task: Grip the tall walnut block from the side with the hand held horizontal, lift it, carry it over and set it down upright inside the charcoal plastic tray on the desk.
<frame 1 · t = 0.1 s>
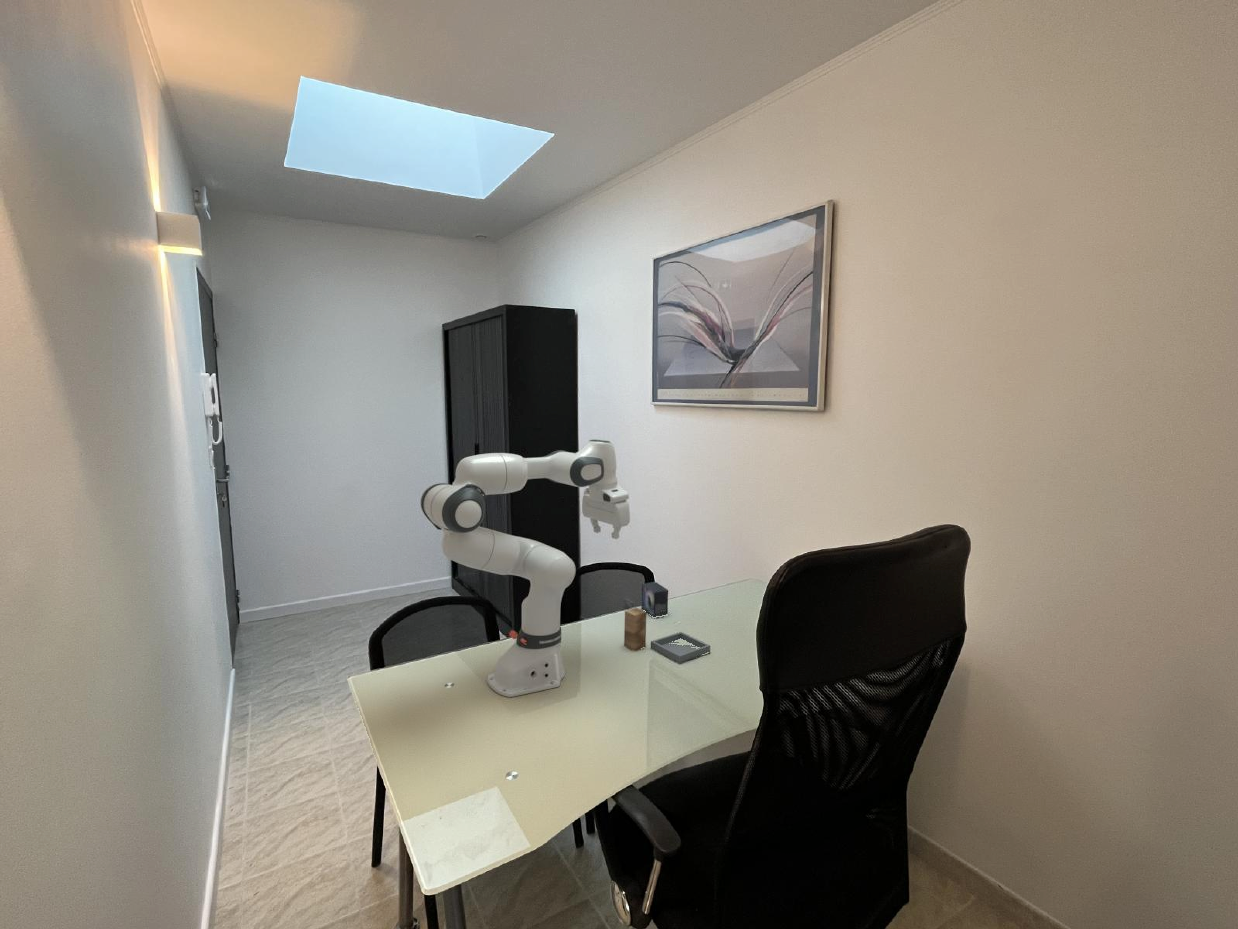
hand: (606, 535, 185), 39 cm above the table, tool pointing down, fingers open, 8 cm apart
small box: (653, 613, 226), on the table
tray: (680, 650, 193), on the table
walnut block: (634, 646, 196), on the table
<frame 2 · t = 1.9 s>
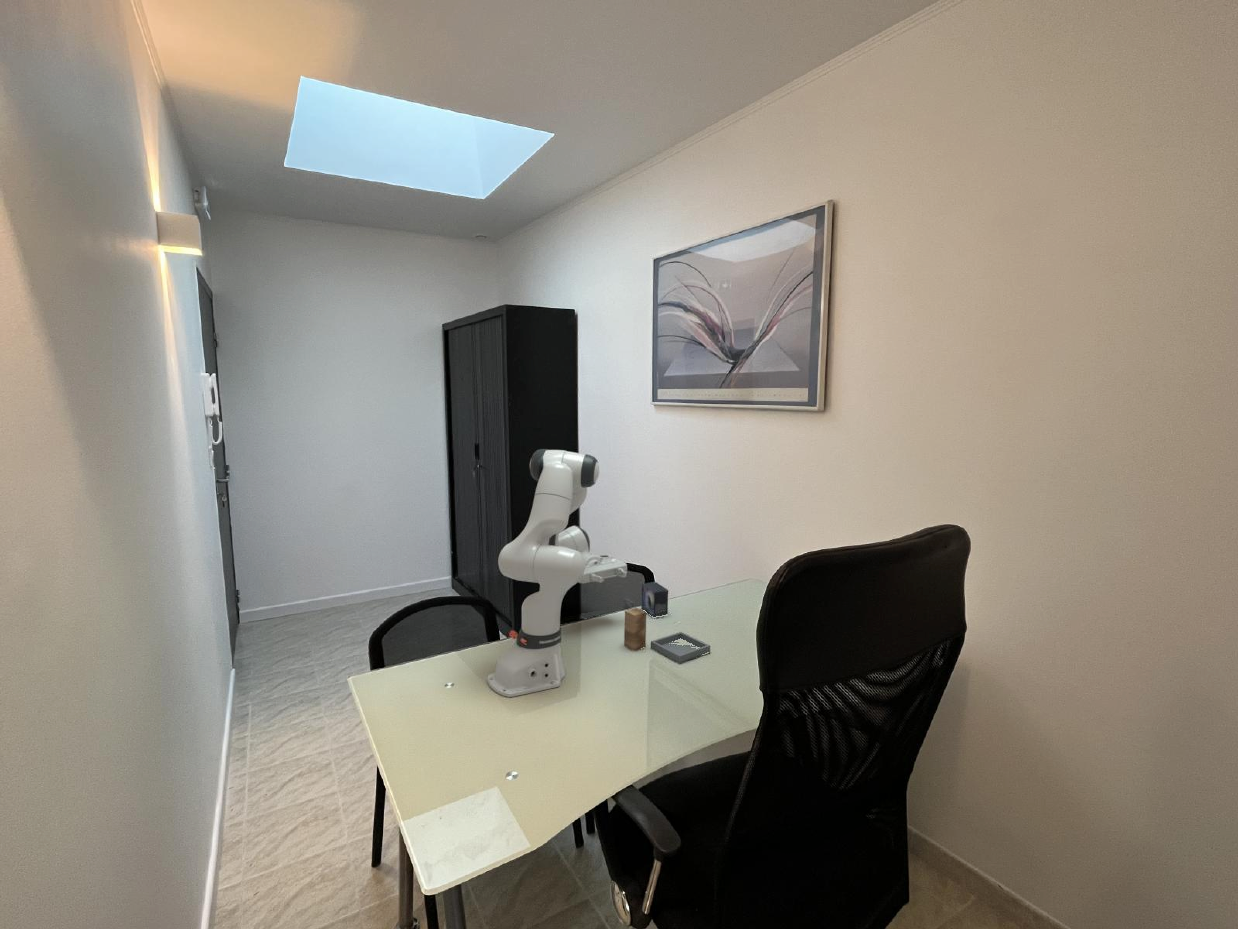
hand: (613, 577, 203), 20 cm above the table, tool horizontal, fingers open, 8 cm apart
nothing on the table moved.
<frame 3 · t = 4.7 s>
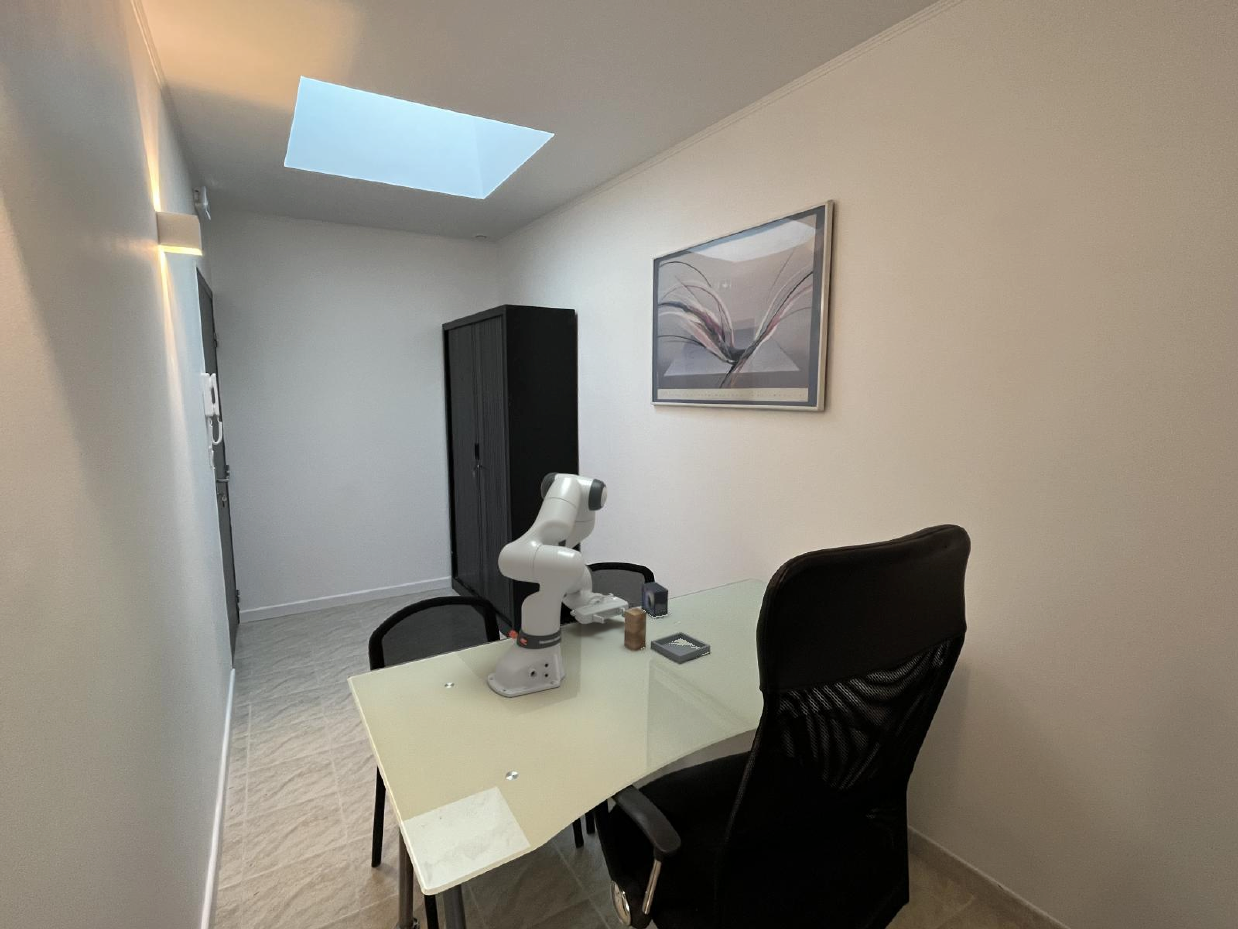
hand: (615, 618, 203), 6 cm above the table, tool horizontal, fingers open, 8 cm apart
nothing on the table moved.
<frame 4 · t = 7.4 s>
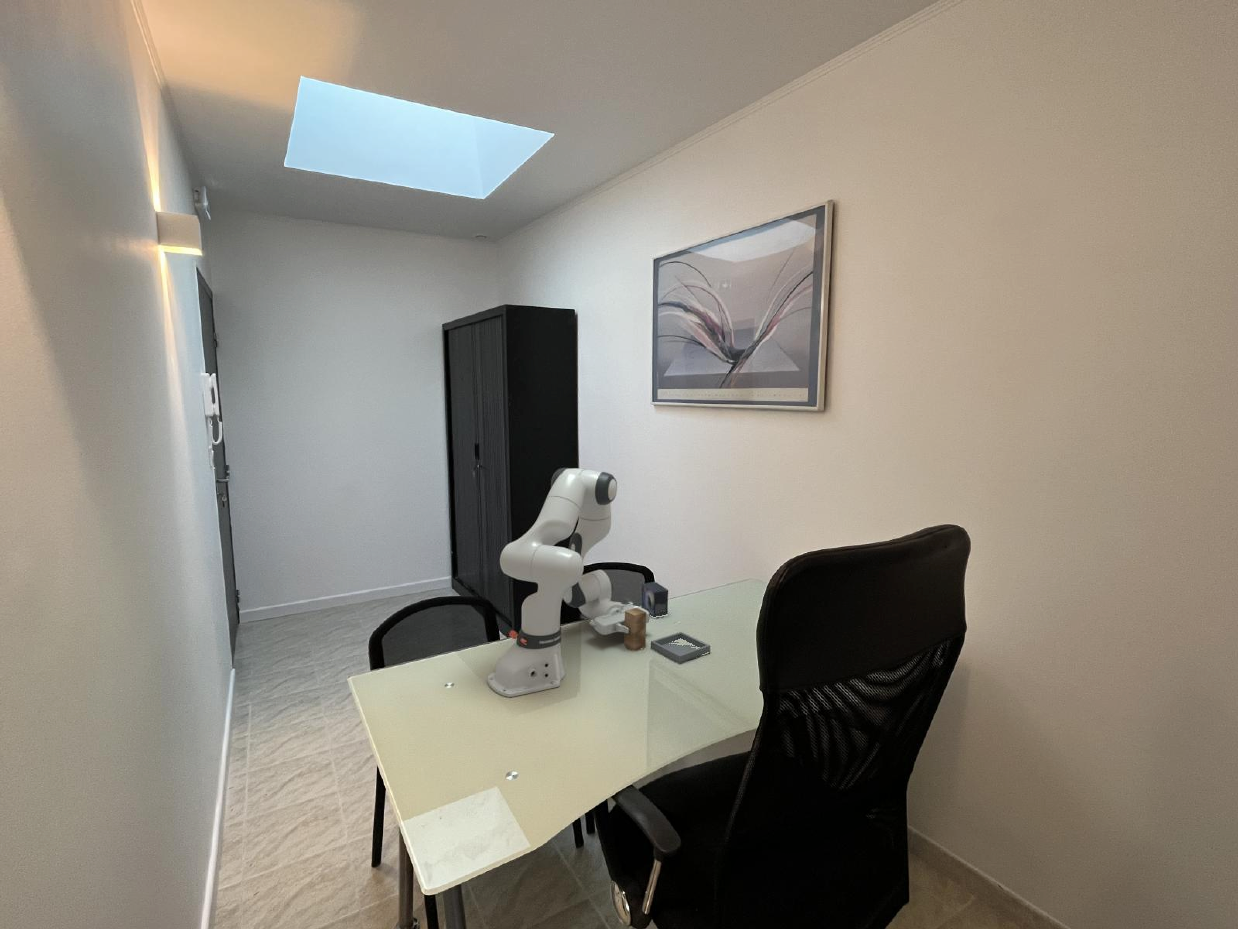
hand: (636, 628, 194), 7 cm above the table, tool horizontal, fingers closed on walnut block, 5 cm apart
walnut block: (634, 646, 196), on the table, touching gripper
everything else where it was.
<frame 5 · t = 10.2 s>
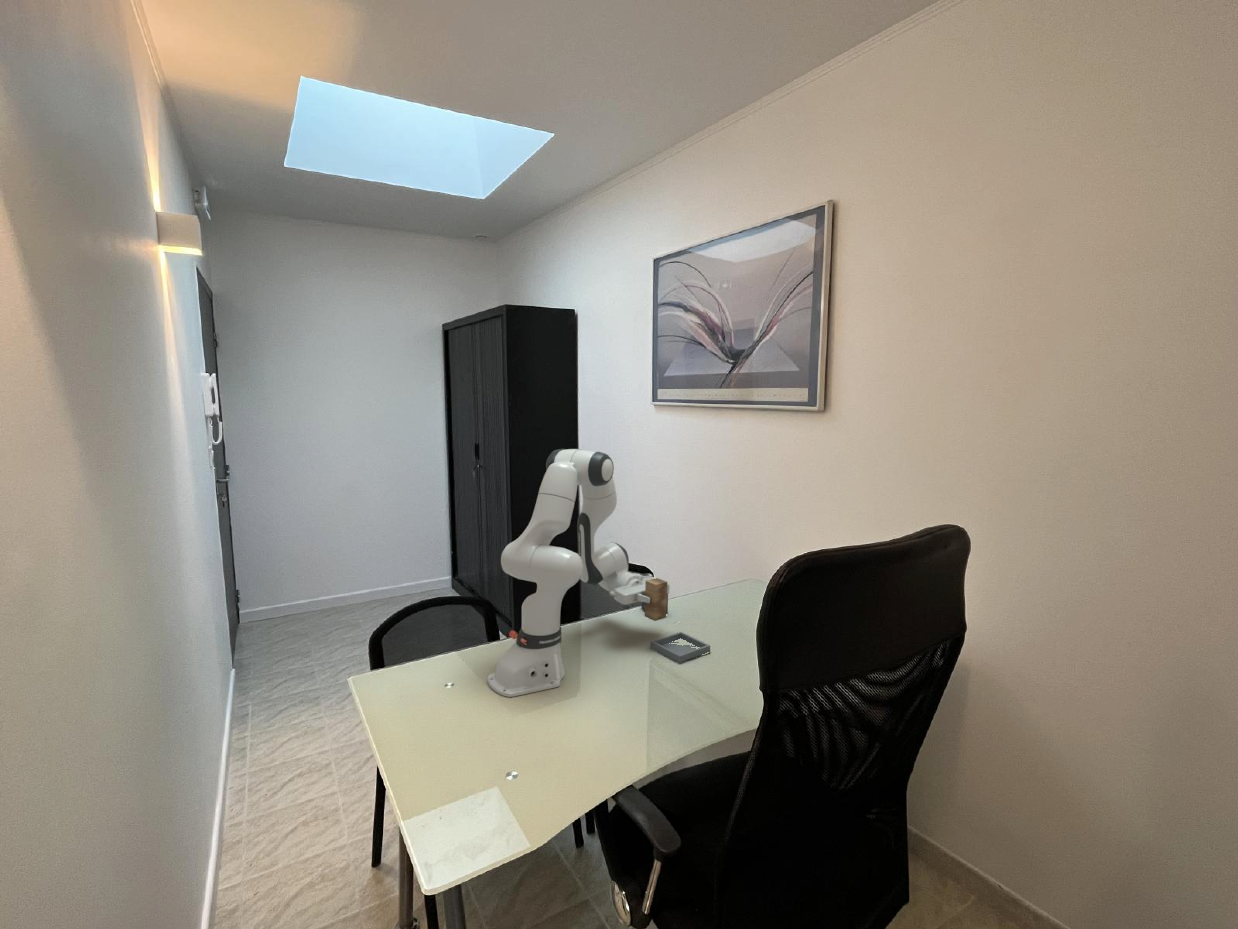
hand: (658, 598, 192), 17 cm above the table, tool horizontal, fingers closed on walnut block, 5 cm apart
walnut block: (655, 617, 194), point 11 cm above the table, touching gripper
everything else where it was.
when the fingers open (8 cm above the table, at t = 12.9 s): walnut block drops 1 cm, resting on tray.
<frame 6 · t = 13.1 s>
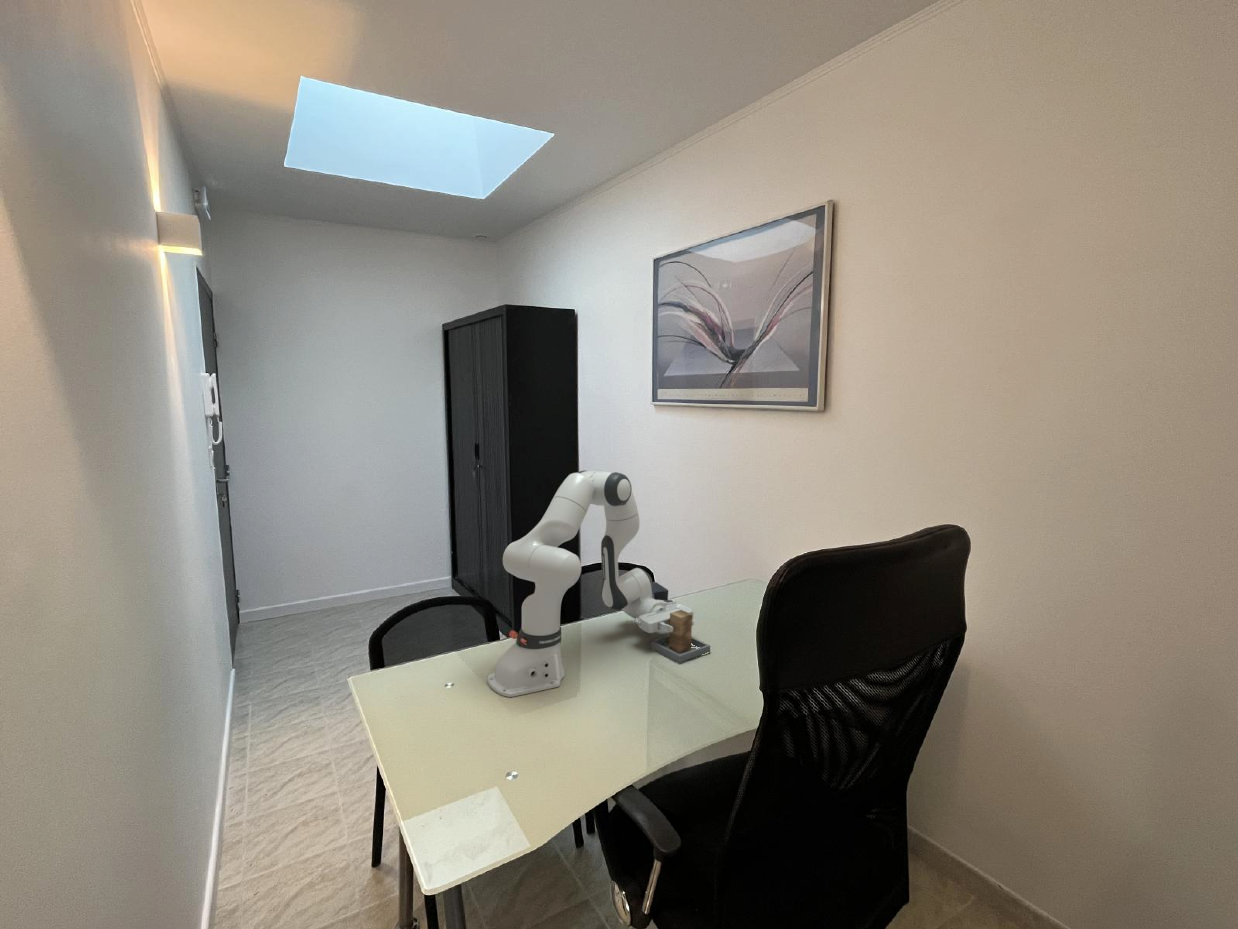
hand: (682, 626, 192), 8 cm above the table, tool horizontal, fingers open, 7 cm apart
walnut block: (679, 649, 193), point 1 cm above the table, touching tray
everything else where it was.
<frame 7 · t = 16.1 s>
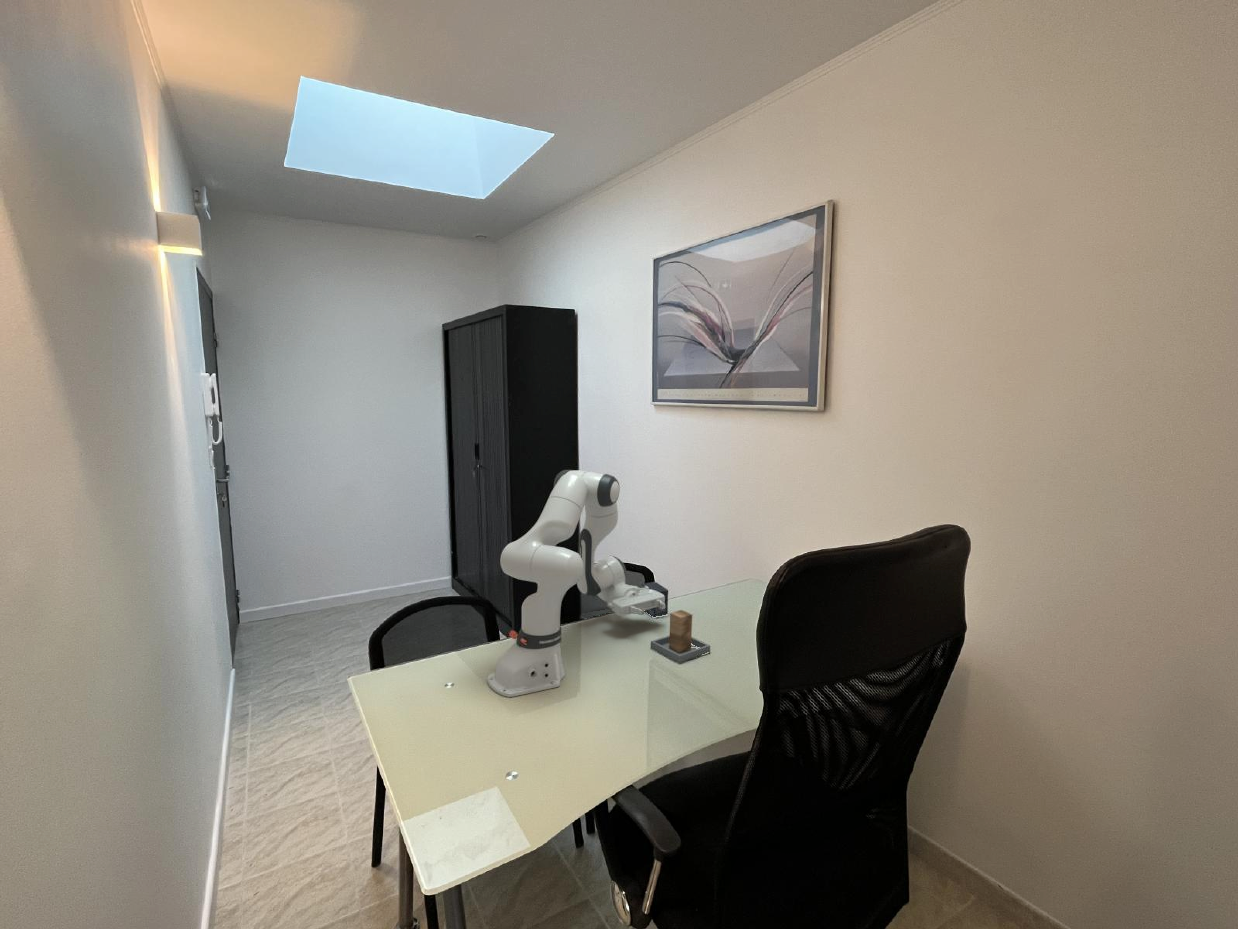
hand: (653, 609, 202), 10 cm above the table, tool horizontal, fingers open, 8 cm apart
nothing on the table moved.
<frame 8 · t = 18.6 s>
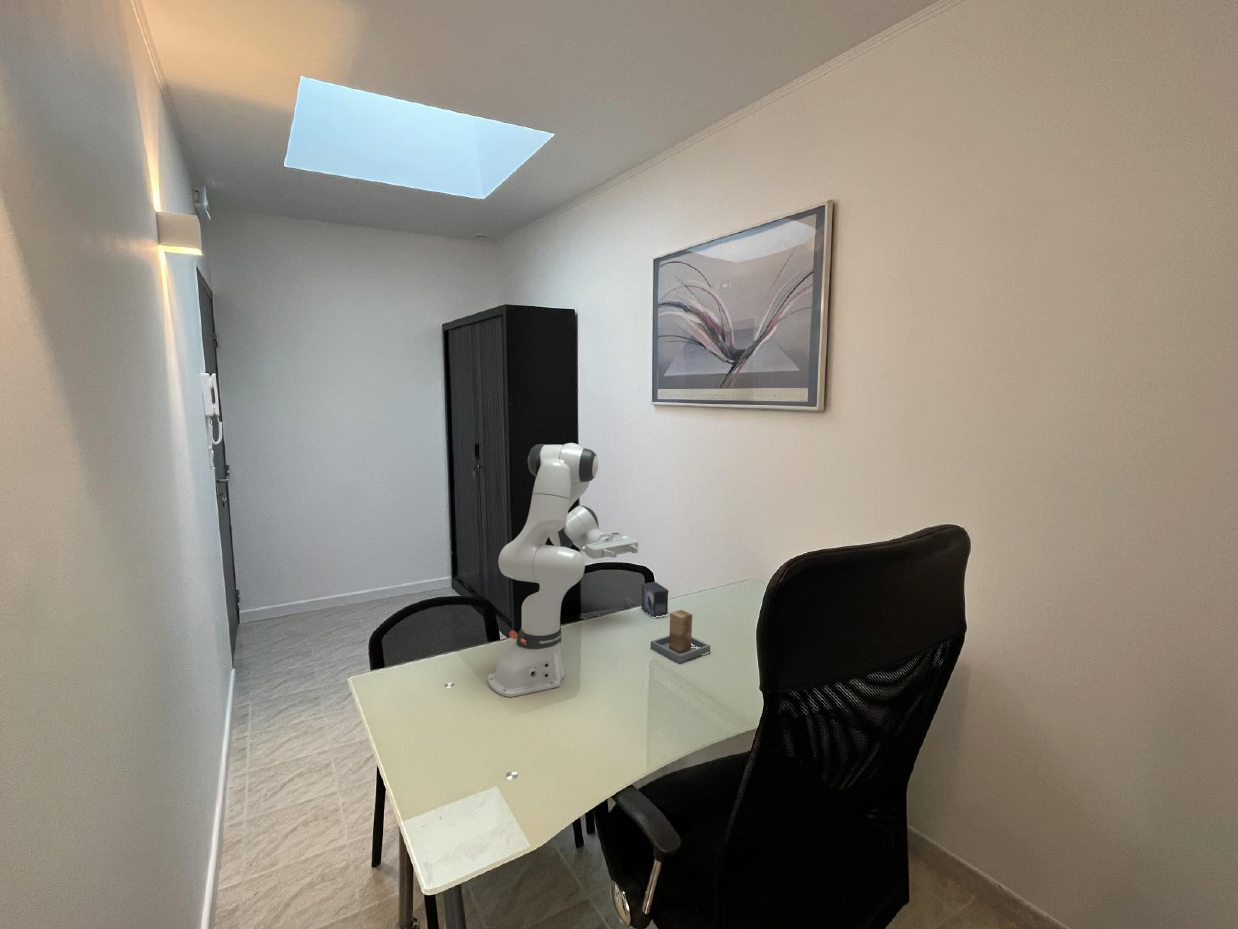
hand: (625, 553, 205), 28 cm above the table, tool horizontal, fingers open, 8 cm apart
nothing on the table moved.
at the end: walnut block inside the target area on the tray (0.1 cm from its centre), point 0.5 cm above the tray's base; walnut block tilted 0°; the gripper is holding nothing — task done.
